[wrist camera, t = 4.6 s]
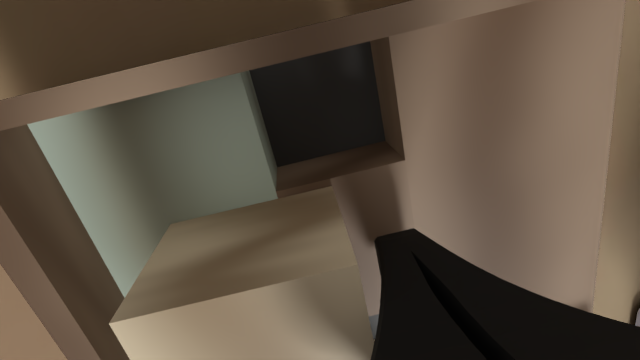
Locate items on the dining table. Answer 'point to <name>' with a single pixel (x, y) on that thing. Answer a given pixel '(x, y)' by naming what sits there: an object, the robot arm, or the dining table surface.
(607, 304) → the dining table surface
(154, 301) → the maple block
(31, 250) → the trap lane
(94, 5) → the dining table surface
